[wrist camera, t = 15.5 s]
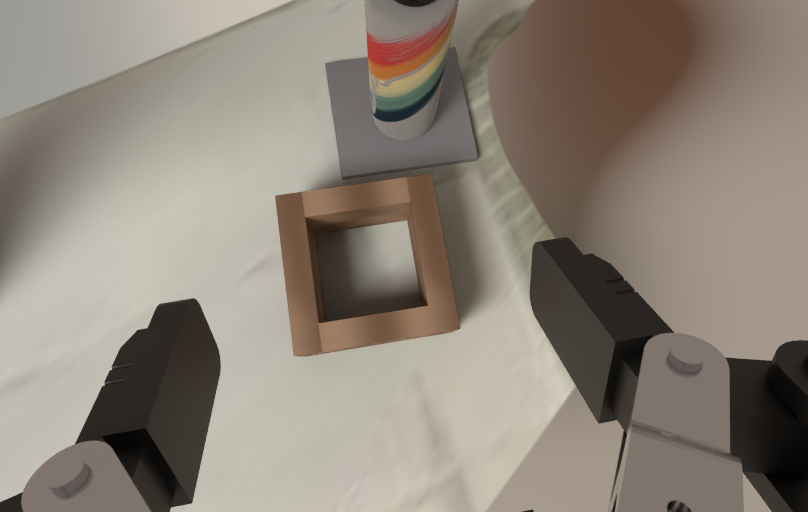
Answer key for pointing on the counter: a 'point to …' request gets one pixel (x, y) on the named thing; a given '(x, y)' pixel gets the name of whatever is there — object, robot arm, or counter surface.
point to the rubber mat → (379, 153)
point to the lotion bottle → (407, 62)
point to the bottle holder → (353, 210)
